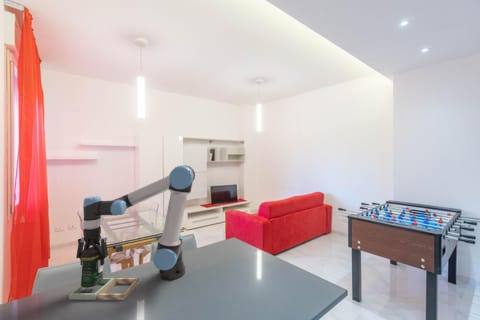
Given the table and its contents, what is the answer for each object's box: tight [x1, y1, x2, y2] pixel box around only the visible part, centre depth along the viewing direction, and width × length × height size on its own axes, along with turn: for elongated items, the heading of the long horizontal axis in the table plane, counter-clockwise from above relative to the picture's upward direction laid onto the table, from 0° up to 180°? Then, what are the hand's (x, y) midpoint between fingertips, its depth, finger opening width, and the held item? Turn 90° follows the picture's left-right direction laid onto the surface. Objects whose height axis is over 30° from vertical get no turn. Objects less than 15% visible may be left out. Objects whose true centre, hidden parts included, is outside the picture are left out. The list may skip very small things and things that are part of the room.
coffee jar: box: [80, 246, 104, 289], centre depth 116 cm, size 10×8×19 cm
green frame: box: [68, 277, 115, 301], centre depth 116 cm, size 13×15×2 cm
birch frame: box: [96, 277, 140, 301], centre depth 115 cm, size 13×15×2 cm
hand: (92, 271), depth 116 cm, fingers closed on coffee jar, 8 cm apart
